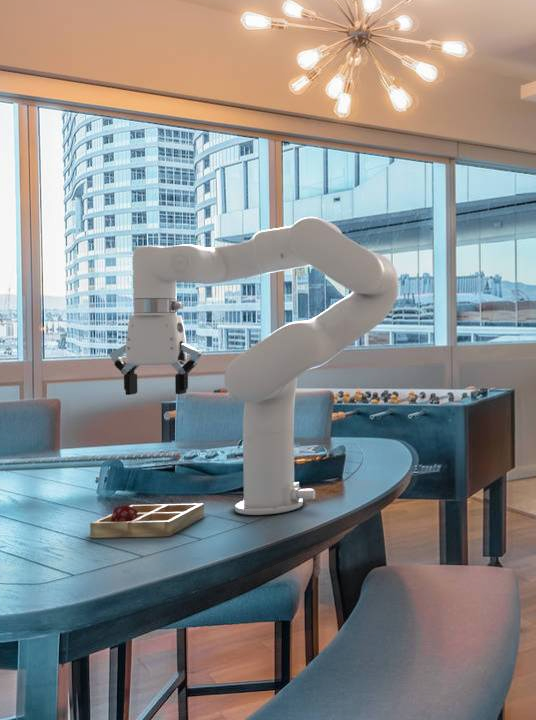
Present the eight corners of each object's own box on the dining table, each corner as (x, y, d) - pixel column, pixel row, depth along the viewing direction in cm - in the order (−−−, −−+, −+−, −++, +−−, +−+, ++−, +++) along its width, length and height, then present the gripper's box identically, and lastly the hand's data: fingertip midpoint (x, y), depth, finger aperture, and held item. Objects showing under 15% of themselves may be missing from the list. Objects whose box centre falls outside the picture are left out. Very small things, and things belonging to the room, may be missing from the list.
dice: (129, 523, 147) (128, 501, 147) (141, 526, 145) (141, 504, 145) (107, 527, 144) (107, 505, 144) (120, 531, 142) (119, 508, 142)
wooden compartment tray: (204, 516, 155) (203, 503, 155) (169, 536, 141) (169, 521, 141) (131, 518, 154) (131, 504, 154) (90, 537, 141) (89, 523, 141)
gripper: (207, 308, 164) (208, 391, 164) (121, 308, 164) (122, 392, 164) (190, 307, 157) (191, 395, 157) (100, 308, 156) (101, 396, 156)
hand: (156, 393), depth 160 cm, fingers open, 9 cm apart
